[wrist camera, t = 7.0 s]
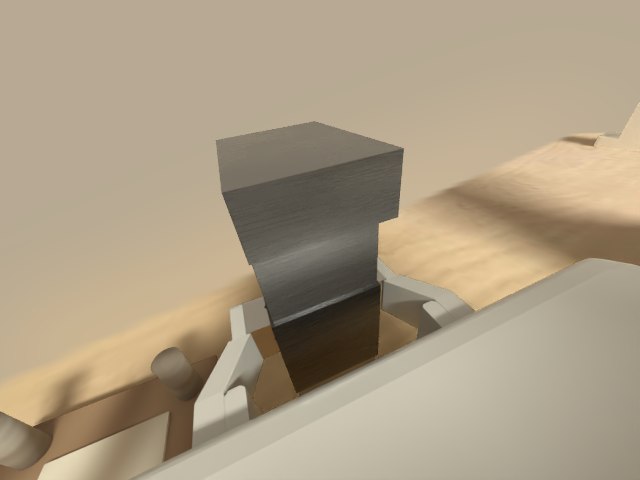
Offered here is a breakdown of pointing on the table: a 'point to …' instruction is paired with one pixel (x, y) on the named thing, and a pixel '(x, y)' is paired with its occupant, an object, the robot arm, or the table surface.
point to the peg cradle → (111, 429)
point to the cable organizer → (623, 135)
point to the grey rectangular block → (314, 238)
